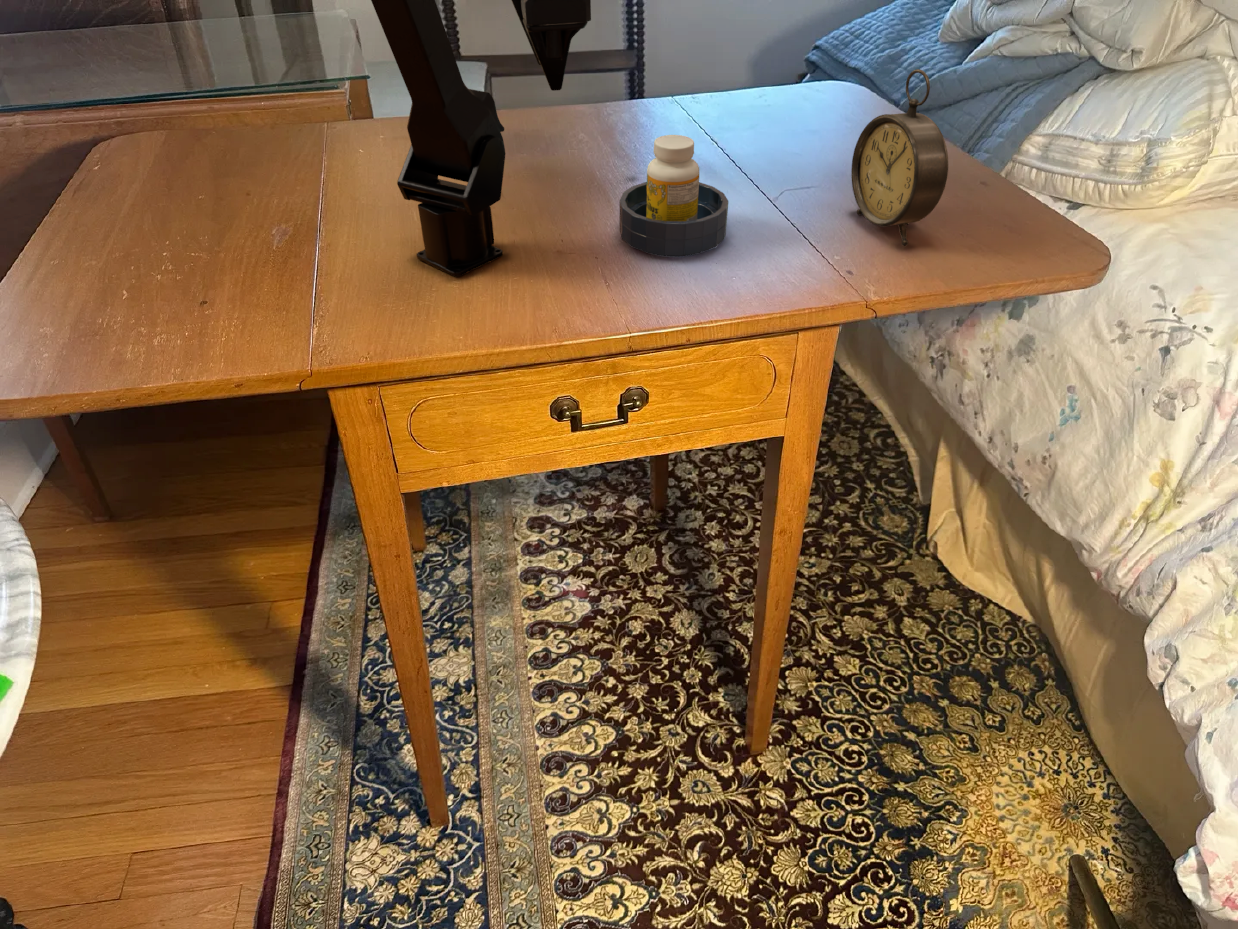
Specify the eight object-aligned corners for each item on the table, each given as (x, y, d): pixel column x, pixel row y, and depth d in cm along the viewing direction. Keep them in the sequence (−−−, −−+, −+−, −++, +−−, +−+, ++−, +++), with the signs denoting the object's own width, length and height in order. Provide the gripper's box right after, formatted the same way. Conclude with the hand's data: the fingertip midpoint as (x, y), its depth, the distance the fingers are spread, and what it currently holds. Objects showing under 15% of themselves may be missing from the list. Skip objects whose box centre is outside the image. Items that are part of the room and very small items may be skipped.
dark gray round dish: (681, 271, 86) (683, 233, 84) (598, 238, 92) (597, 202, 89) (746, 233, 93) (749, 198, 90) (664, 205, 98) (665, 170, 96)
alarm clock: (840, 212, 97) (866, 57, 86) (881, 204, 98) (911, 52, 88) (897, 254, 89) (933, 89, 78) (940, 245, 90) (982, 83, 80)
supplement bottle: (701, 240, 90) (707, 149, 84) (651, 245, 90) (654, 153, 83) (688, 218, 94) (693, 130, 88) (641, 223, 94) (642, 133, 87)
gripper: (644, -84, 77) (642, 98, 87) (603, -112, 91) (605, 48, 101) (520, -78, 75) (532, 106, 85) (497, -108, 89) (510, 54, 99)
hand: (549, 76), depth 93 cm, fingers open, 9 cm apart
